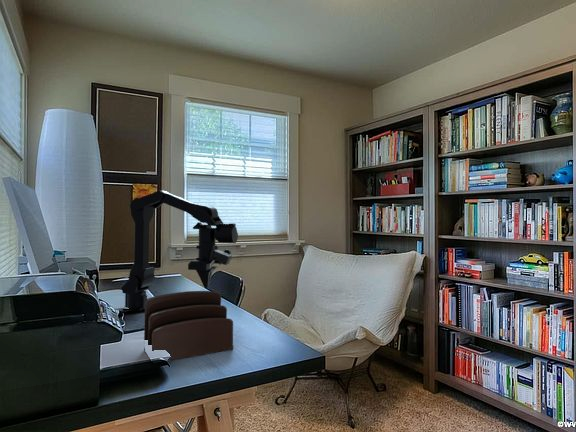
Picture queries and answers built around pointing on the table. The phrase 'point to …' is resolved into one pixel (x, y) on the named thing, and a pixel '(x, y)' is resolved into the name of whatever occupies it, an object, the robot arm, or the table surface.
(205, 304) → the letter holder
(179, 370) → the table surface
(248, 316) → the table surface
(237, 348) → the table surface
